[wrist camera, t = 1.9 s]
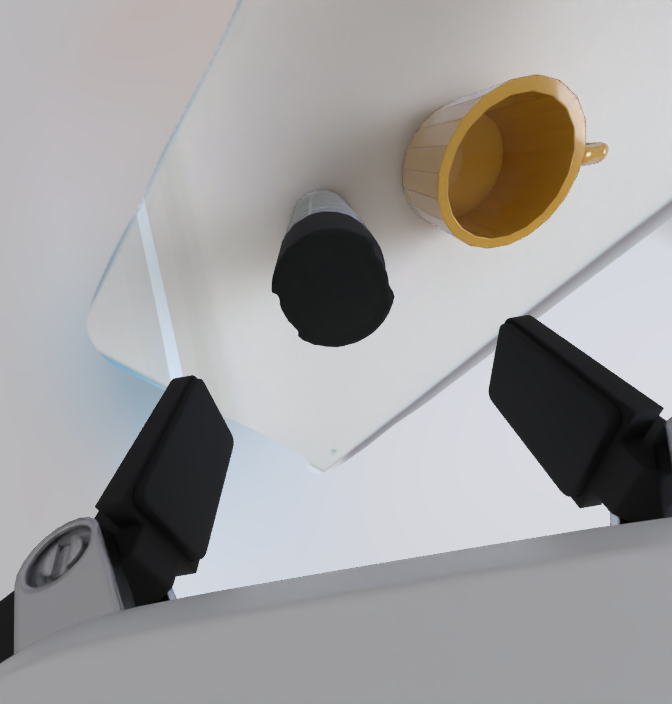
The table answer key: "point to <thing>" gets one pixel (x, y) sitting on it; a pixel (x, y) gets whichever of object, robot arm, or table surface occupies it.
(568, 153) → the mug
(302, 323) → the spray can
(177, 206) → the table surface
